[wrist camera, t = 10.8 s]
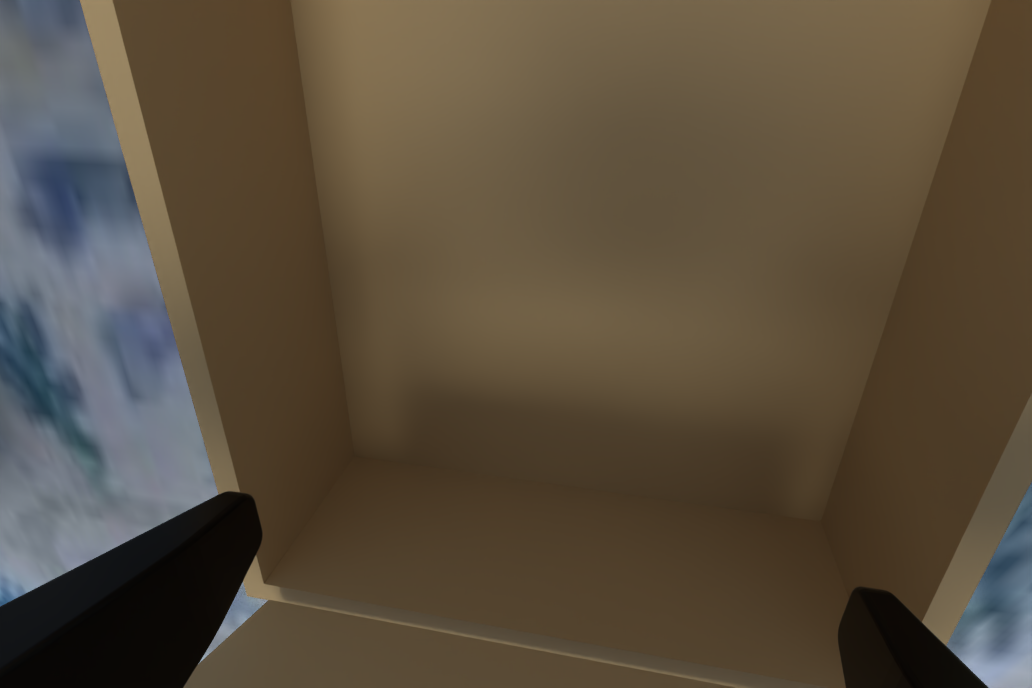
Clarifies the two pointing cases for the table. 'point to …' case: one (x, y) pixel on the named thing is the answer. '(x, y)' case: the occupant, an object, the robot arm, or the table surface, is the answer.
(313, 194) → the carton
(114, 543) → the table surface
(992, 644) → the table surface
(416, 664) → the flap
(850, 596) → the robot arm
